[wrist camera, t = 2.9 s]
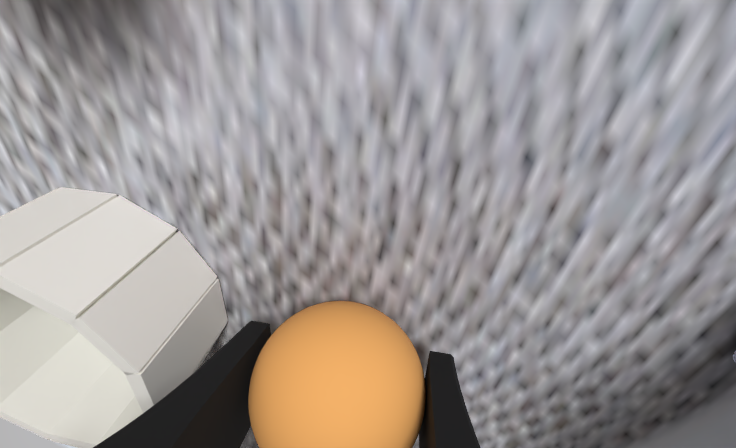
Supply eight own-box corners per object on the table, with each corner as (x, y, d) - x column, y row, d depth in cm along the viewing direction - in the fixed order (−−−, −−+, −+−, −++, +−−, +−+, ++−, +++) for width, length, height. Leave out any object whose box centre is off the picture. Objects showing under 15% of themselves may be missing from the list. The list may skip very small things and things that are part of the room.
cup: (202, 205, 12) (102, 288, 8) (239, 370, 16) (183, 471, 12) (-15, 177, 13) (-182, 241, 9) (73, 339, 17) (-20, 424, 14)
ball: (439, 279, 11) (433, 446, 7) (420, 383, 14) (409, 551, 10) (281, 257, 12) (191, 397, 8) (292, 360, 15) (229, 507, 10)
